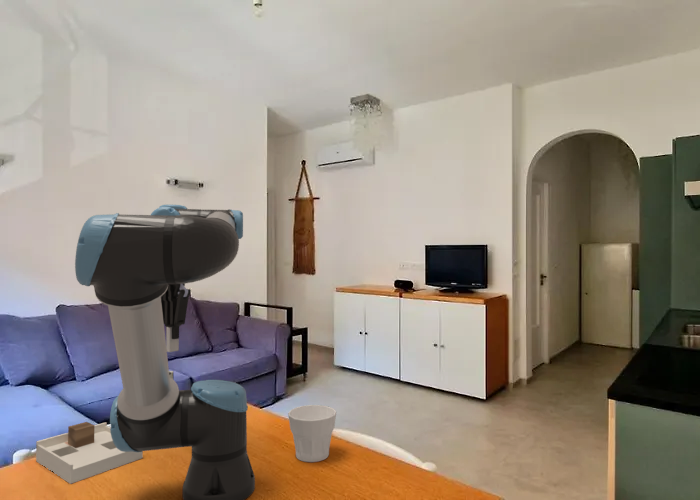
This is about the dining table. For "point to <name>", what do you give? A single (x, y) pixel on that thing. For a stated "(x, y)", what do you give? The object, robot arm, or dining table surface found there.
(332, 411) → the cup
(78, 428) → the block
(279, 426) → the dining table surface
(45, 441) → the tray
